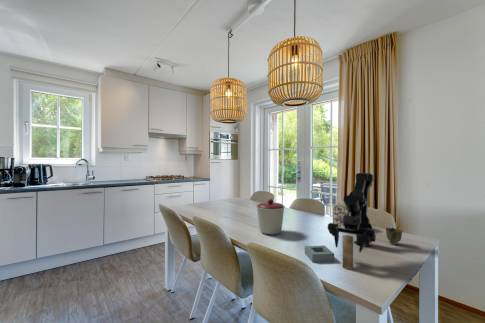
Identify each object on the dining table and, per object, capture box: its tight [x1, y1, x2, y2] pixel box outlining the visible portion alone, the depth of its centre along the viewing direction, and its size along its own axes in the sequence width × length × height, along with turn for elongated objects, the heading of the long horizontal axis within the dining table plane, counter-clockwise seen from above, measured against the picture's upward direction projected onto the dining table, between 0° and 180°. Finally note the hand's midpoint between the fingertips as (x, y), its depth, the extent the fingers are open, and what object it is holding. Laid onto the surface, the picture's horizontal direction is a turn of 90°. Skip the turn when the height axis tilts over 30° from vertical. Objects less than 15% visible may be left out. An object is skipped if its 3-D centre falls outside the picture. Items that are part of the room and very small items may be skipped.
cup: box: [385, 227, 403, 246], centre depth 124 cm, size 8×7×8 cm
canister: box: [255, 198, 286, 236], centre depth 145 cm, size 18×18×21 cm
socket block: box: [304, 245, 335, 263], centre depth 107 cm, size 10×10×4 cm
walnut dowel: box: [342, 234, 354, 271], centre depth 97 cm, size 4×4×13 cm
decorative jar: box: [332, 199, 348, 228], centre depth 155 cm, size 12×12×18 cm
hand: (347, 249), depth 97 cm, fingers open, 9 cm apart
